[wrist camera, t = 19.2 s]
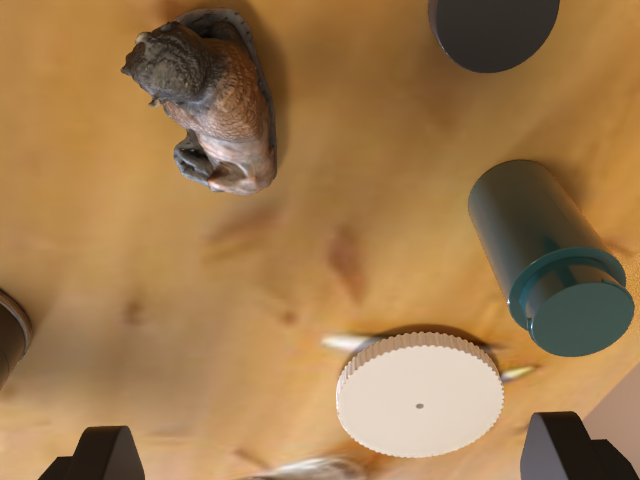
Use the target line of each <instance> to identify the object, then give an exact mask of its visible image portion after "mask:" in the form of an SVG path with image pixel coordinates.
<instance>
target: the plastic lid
mask: <svg viewBox="0 0 640 480" xmlns="http://www.w3.org/2000/svg"><path fill="white" fill-rule="evenodd" d="M352 359H353V360H352V361H349V362H348V366H345V370H343V371H342V375H340V377H339V380H338V385H337V391H336V406H337V415H338V417H339V421H341V425H342V426H343V429H344V430H346V431H347V434H350V437H351V438H354V440H355V441H358V442H359V444H361V445H362V444H363V445H364V447H366V448H367V447H369V449H370V450H375V452H381V454H387V455H388V456H391V455H394V457H397V456H400V457H401V458H404V457H407V458H411V457H414V458H418V457H421V458H424V457H426V456H427V457H431V456H433V455H434V456H438V455H439V454H441V455H444V454H445V453H447V452H448V453H451V451H453V450H454V451H457V450H458V449H459V448H464V446H465V445H467V446H468V445H470V443H471V442H475V440H476V439H479V438H481V437H480V436H481V435H485V432H486V431H489V430H490V429H489V428H490V427H493V423H495V422H496V421H497V419H496V418H499V416H500V415H499V413H501V412H502V410H501V408H503V403H504V399H503V398H505V396H504V389H503V385H502V382H501V379H500V376H499V373H498V370H497V368H496V366H495V364H494V362H492V359H491V358H489V357H488V354H487V353H484V351H483V350H482V349H481V350H480V349H479V347H478V346H477V345H476V346H474V344H473V343H472V342H470V343H468V341H467V340H465V339H464V340H461V338H460V337H457V338H455V337H454V335H450V336H448V335H447V334H445V333H443V334H439V332H436V333H431V332H427V333H424V332H420V333H416V332H412V334H408V333H404V335H400V334H399V335H396V337H392V336H391V337H389V339H382V341H381V342H375V345H370V346H369V348H367V349H366V348H365V349H363V352H361V353H360V352H359V353H358V354H357V357H355V356H354V357H353V358H352Z"/></svg>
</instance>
